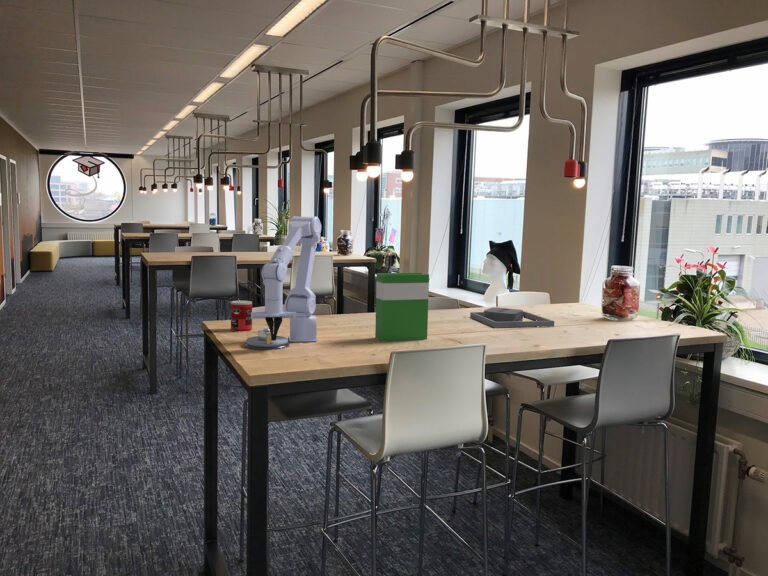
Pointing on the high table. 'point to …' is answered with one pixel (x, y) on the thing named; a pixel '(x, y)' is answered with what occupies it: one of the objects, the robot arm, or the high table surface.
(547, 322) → the black tray rim
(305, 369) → the high table surface
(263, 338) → the cover
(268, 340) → the turntable
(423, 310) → the green cereal box
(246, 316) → the canned food
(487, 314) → the streaming box
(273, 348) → the turntable base
